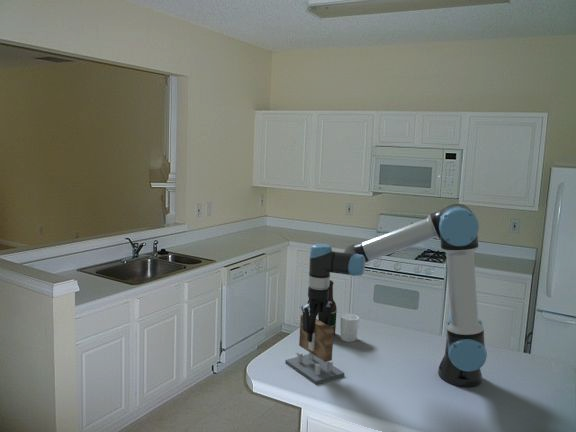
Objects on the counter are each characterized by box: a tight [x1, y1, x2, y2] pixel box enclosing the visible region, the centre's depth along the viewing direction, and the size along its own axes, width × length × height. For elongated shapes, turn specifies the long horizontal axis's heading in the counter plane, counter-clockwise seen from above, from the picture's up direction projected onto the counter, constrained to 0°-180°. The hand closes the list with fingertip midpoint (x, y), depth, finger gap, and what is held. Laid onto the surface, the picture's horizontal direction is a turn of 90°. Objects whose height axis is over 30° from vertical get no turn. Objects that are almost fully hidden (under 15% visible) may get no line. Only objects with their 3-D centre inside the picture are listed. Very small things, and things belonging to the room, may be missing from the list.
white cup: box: [340, 313, 360, 343], centre depth 211 cm, size 8×8×10 cm
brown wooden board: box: [298, 314, 334, 362], centre depth 180 cm, size 16×4×12 cm, turn 34°
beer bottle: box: [328, 279, 338, 336], centre depth 214 cm, size 8×8×24 cm
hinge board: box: [285, 351, 345, 385], centre depth 181 cm, size 19×13×5 cm
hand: (315, 348), depth 180 cm, fingers closed on brown wooden board, 3 cm apart
